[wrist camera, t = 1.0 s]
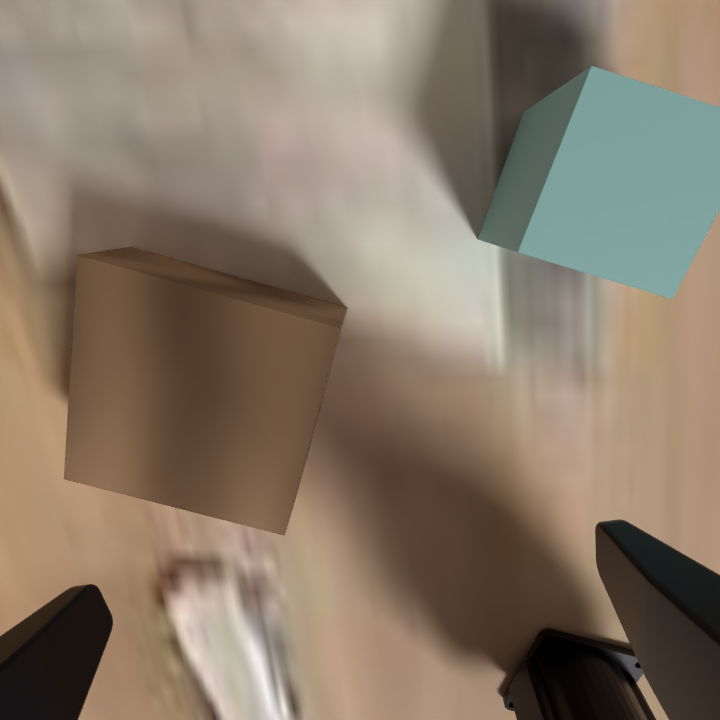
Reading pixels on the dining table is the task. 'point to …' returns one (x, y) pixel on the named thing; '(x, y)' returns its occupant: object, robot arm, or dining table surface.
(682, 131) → the teal block
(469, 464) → the dining table surface
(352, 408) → the dining table surface
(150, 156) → the dining table surface
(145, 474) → the walnut block
